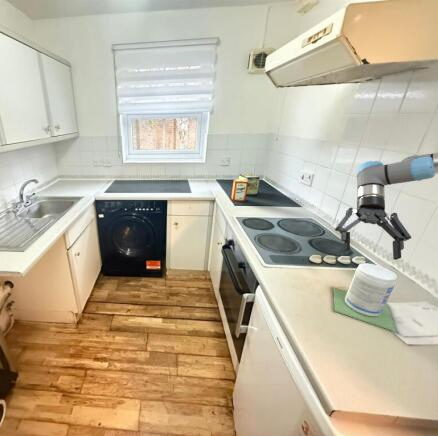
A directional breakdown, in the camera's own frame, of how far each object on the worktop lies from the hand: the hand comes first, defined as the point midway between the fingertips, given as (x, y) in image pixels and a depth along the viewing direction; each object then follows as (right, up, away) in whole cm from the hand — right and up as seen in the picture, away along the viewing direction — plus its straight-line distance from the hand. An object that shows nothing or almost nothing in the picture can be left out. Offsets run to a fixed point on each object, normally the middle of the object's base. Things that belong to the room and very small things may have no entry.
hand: (371, 254), depth 81 cm
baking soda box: (-5, +27, +107) cm, 110 cm away
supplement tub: (-4, -18, 0) cm, 19 cm away
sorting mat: (-4, -18, 0) cm, 19 cm away
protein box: (+9, +34, +124) cm, 129 cm away
